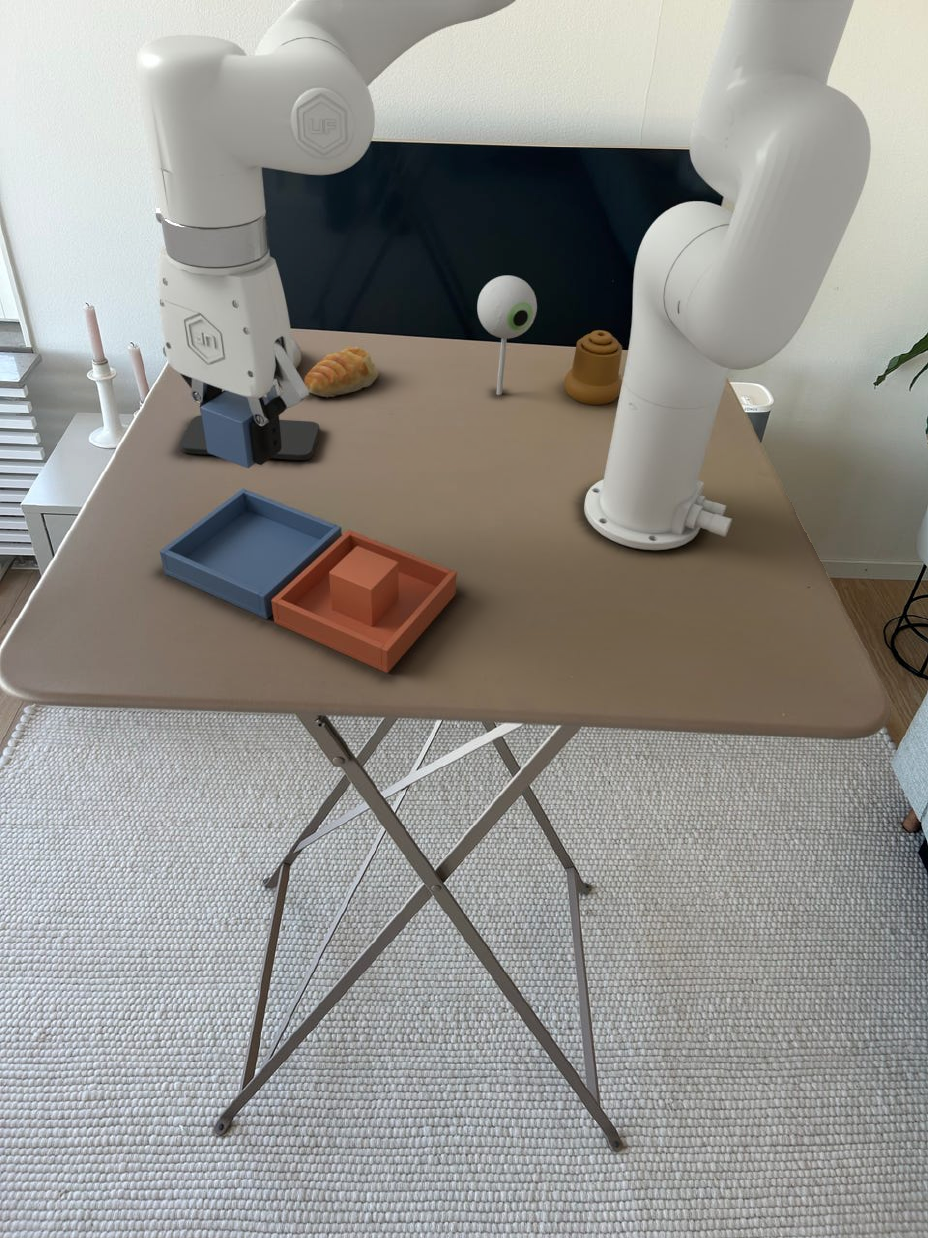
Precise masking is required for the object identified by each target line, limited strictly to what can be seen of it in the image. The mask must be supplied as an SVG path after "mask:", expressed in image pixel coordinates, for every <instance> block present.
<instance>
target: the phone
mask: <svg viewBox="0 0 928 1238" xmlns="http://www.w3.org/2000/svg"><path fill="white" fill-rule="evenodd" d="M279 422H280V432H281V442H282V443H281V445H282V448H281V450H280V452H278V453H277V454H276V455H274V456H273V457H272V458H271V459H277V460H293V461H305V460H308V459H310V458H312V456H313V455H314V452H315V449H316V445H317V442H318V440H319V439H318V438H319V436H320V432H321V431H320V425H319V424H318V423H317V422H315V421H307V420H294V419H293V420H292V419H279ZM179 448H180V451H181V452H183V453H184V454H192V455H208V456H210V455H211V456H213V455H212V454H210V453H208V452H207V445H206V442H205V436H204V430H203V424H202V418H201V414H200V415H196V416H194V417H193V418H192V419H191V421H190V422H189V425H188V426H187V428H186V430H185V431H184V434H183V436H182V438H181V440H180V442H179Z"/></svg>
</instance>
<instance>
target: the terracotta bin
mask: <svg viewBox="0 0 928 1238" xmlns="http://www.w3.org/2000/svg"><path fill="white" fill-rule="evenodd" d="M356 546H359V547H361V548H364V549H366V550H369V551H371V552H374V553H376V554H379V555H382V556H384V557H387V558H389V559H392V560H394V561H397V562H398V600H397V601H396V602H395V603H394V604H393V605H392V606H391V607H390V608H389V610H388V611H387V612H386V613H385V614H384V615H383V616H382V617H381V618H380V619H379V620H378V621H377V623H376V624H375V625H374V626H373V627H372V626H369V625H367V624H365V623H363V622H360V621H358V620H356V619H353V618H351V617H349V616H346V615H344V614H342V613H339V612H337V611H335V610H332V606H331V592H330V577H329V572H330V571H331V570H332V569H333V568H334V567H335V566H336V565H337V564H338V563H340V562H341V561H342V560H343V559H344V558H345V557H346V556H347V555H348V554H349V553H350V552H351V551H352V550H353V549H354V548H355V547H356ZM457 575H458V572H457V571H455V570H452V569H450V568H448V567H445V566H442V565H440V564H437V563H434V562H432V561H429V560H426V559H424V558H422V557H420V556H416V555H414V554H411V553H409V552H407V551H404V550H401V549H399V548H397V547H393V546H391V545H389V544H386V543H383V542H381V541H379V540H376V539H373V538H371V537H368V536H365V535H363V534H361V533H359V532H356V531H353V530H351V529H347V530H346V531H345V532H344V533H342V536H341V537H340V538H339V539H338V540H337V541H335V542H334V543H333V544H332V545H331V546H330V547H329V548H328V549H327V550H326V551H325V552H323V553H322V554H321V555H320V556H319V557H318V558H317V559H316V560H315V561H314V562H313V563H311V564H310V565H309V566H308V567H307V568H306V569H305V570H304V571H303V572H302V573H300V574H299V575H298V576H297V577H296V578H295V579H294V580H293V581H292V582H291V583H290V584H288V585H287V586H286V587H285V588H284V589H283V590H282V591H281V592H280V593H279V594H278V595H276V596H275V597H274V598H273V599H272V600H271V602H272V609H273V614H272V617H273V623H274V624H276V625H279V626H281V627H282V628H284V629H287V630H290V631H292V632H294V633H297V634H298V635H300V636H303V637H305V638H308V639H309V640H312V641H314V642H317V643H318V644H321V645H323V646H325V647H328V648H330V649H332V650H335V651H336V652H339V653H341V654H343V655H346V656H348V657H350V658H352V659H355V660H357V661H359V662H361V663H362V664H366V665H368V666H370V667H372V668H375V669H377V670H379V671H381V672H384V673H385V674H389V672H391V670H392V669H393V667H394V666H395V665H396V664H397V663H398V662H399V661H400V660H401V659H402V658H403V656H404V655H405V654H406V653H407V652H408V650H409V649H410V648H411V647H412V646H413V645H414V643H415V642H416V641H417V640H418V639H419V637H421V635H422V634H423V633H424V632H425V631H426V629H427V628H428V627H429V626H430V625H431V624H432V622H433V621H434V620H435V619H436V618H437V617H438V615H439V614H440V613H441V612H442V611H443V609H444V608H445V607H446V606H447V605H448V604H449V603H450V601H451V600H452V599H453V598H454V597H455V595H456V594H457V593H456V591H457V590H456V589H457Z"/></svg>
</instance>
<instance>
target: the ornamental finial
mask: <svg viewBox="0 0 928 1238" xmlns="http://www.w3.org/2000/svg"><path fill="white" fill-rule="evenodd" d="M622 353H623V345H622V344H621V343H619V341H618V340H617V338H615V337H614V336H613V335H612V334H611V333H610V332H609V331H606V330H600V329H597V330H593V331H592V332H591V333H587V334H586V335H584V336H583V337H581V338H580V339H578V340H577V342H576V345H575V352H574V356H573V362H572V366H571V368H570V369H569V370H568V372H566V375H565V376H564V381H563V386H564V389H565V391H566V393H567V395H569V396H570V398H572V399H573V400H575V401H577V402H579V403H582V404H586V405H591V406H601V405H606V404H609V403H612V402H613V401H616V400H617V398H618V397H619V396H620V391H621V386H622V380H623V379H622V378H621V376H620V368H621V361H622V360H621V359H622Z"/></svg>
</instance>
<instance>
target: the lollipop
mask: <svg viewBox="0 0 928 1238" xmlns="http://www.w3.org/2000/svg"><path fill="white" fill-rule="evenodd" d="M476 305H477V306H476V307H477V308H476V309H477V310H476V311H477V317H478V319H479V322H480V324H481V325H482V327H483V328H484V329H485V331H487V332H488V333H489V334H490V335H492V336H494V337H496V338H500V348H499V349H500V351H499V359H498V360H499V361H498V372H497V385H496V395H497V396H501V395H502V394H503V384H504V372H505V364H506V363H505V362H506V351H507V340H508V339H514V338H516V337H519V336H521V335H523V334H524V333H526V332H527V331H528V330H529V329H530V328H531V327H532V324H533V323H534V320H535V318H536V316H537V310H538V304H537V297H536V295H535V291H534V290H533V288H532V287H531V286H530V285H529V284H528V282H526V280H523V279H522V278H520V277H518V276H515V275H500V276H497V277H494V278H493V279H491V280H490V281H489V282H487V283H486V284H485V285H484V286H483V288H482V289H481V291H480V293H479V295H478V298H477V304H476Z"/></svg>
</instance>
